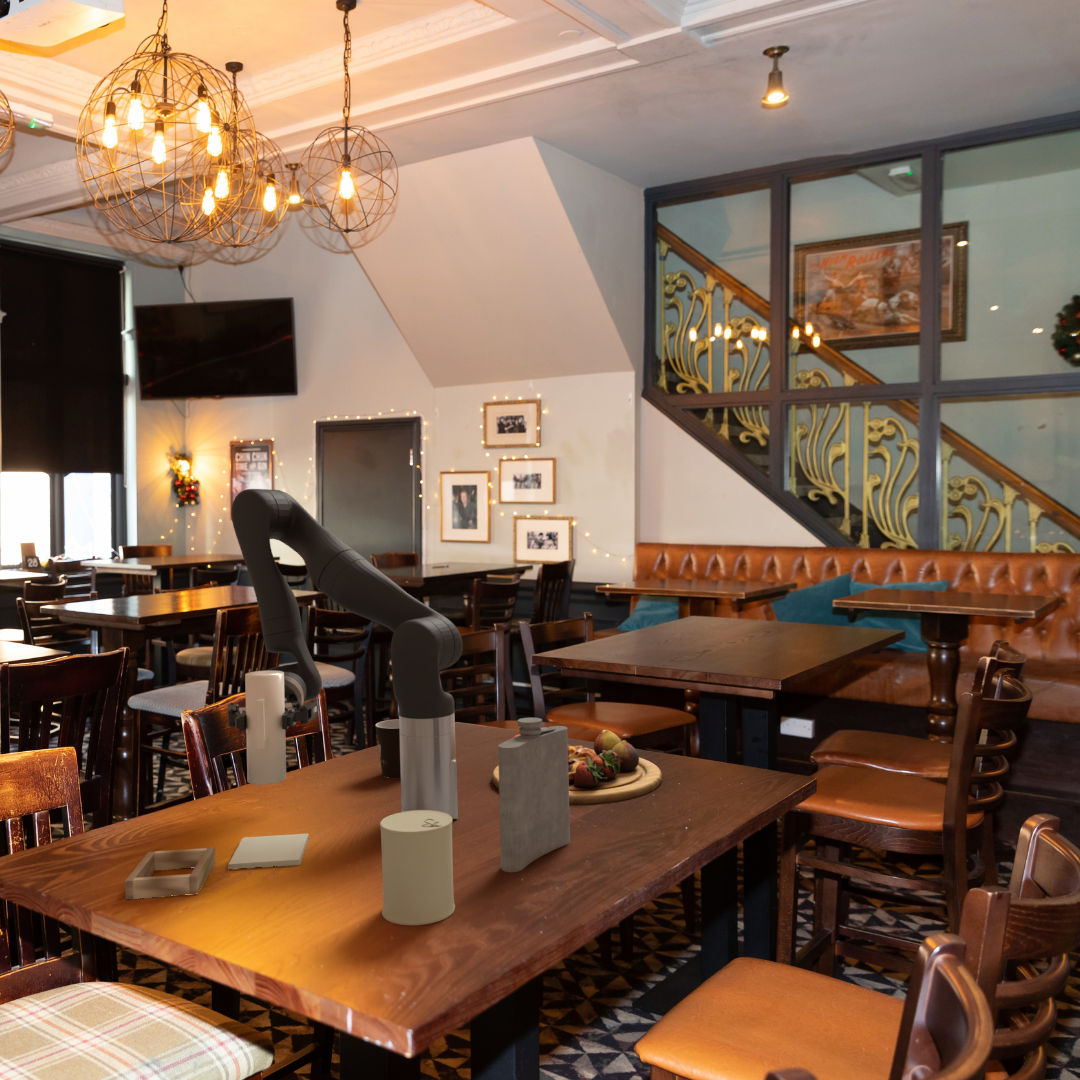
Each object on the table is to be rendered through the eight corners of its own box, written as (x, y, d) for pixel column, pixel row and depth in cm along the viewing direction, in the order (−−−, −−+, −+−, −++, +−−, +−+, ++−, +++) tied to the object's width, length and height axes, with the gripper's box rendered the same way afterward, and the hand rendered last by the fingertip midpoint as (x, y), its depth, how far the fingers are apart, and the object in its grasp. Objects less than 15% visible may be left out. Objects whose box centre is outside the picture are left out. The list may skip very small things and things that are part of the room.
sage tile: (308, 838, 154) (308, 833, 154) (299, 865, 142) (299, 859, 142) (243, 842, 152) (242, 837, 152) (228, 869, 140) (228, 864, 140)
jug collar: (214, 864, 143) (214, 847, 143) (197, 894, 131) (196, 876, 131) (149, 868, 141) (148, 851, 141) (125, 899, 130) (125, 881, 130)
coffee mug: (412, 781, 186) (411, 728, 186) (370, 779, 188) (368, 727, 188) (431, 765, 198) (430, 716, 198) (391, 764, 200) (389, 715, 199)
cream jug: (288, 773, 150) (286, 669, 150) (281, 788, 142) (279, 679, 142) (250, 775, 149) (248, 671, 149) (241, 790, 141) (239, 680, 141)
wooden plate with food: (457, 782, 186) (456, 739, 186) (578, 751, 207) (577, 712, 207) (574, 821, 162) (573, 772, 162) (696, 782, 183) (696, 738, 183)
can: (424, 931, 118) (421, 832, 117) (366, 916, 123) (364, 821, 122) (469, 905, 125) (467, 812, 125) (413, 892, 130) (411, 802, 130)
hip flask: (515, 873, 136) (511, 730, 136) (491, 868, 138) (488, 728, 138) (573, 840, 150) (570, 710, 149) (551, 836, 152) (548, 708, 151)
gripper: (233, 680, 160) (212, 700, 143) (323, 677, 162) (312, 696, 145) (234, 725, 160) (213, 750, 143) (323, 722, 162) (313, 746, 145)
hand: (263, 723), depth 144 cm, fingers closed on cream jug, 5 cm apart
